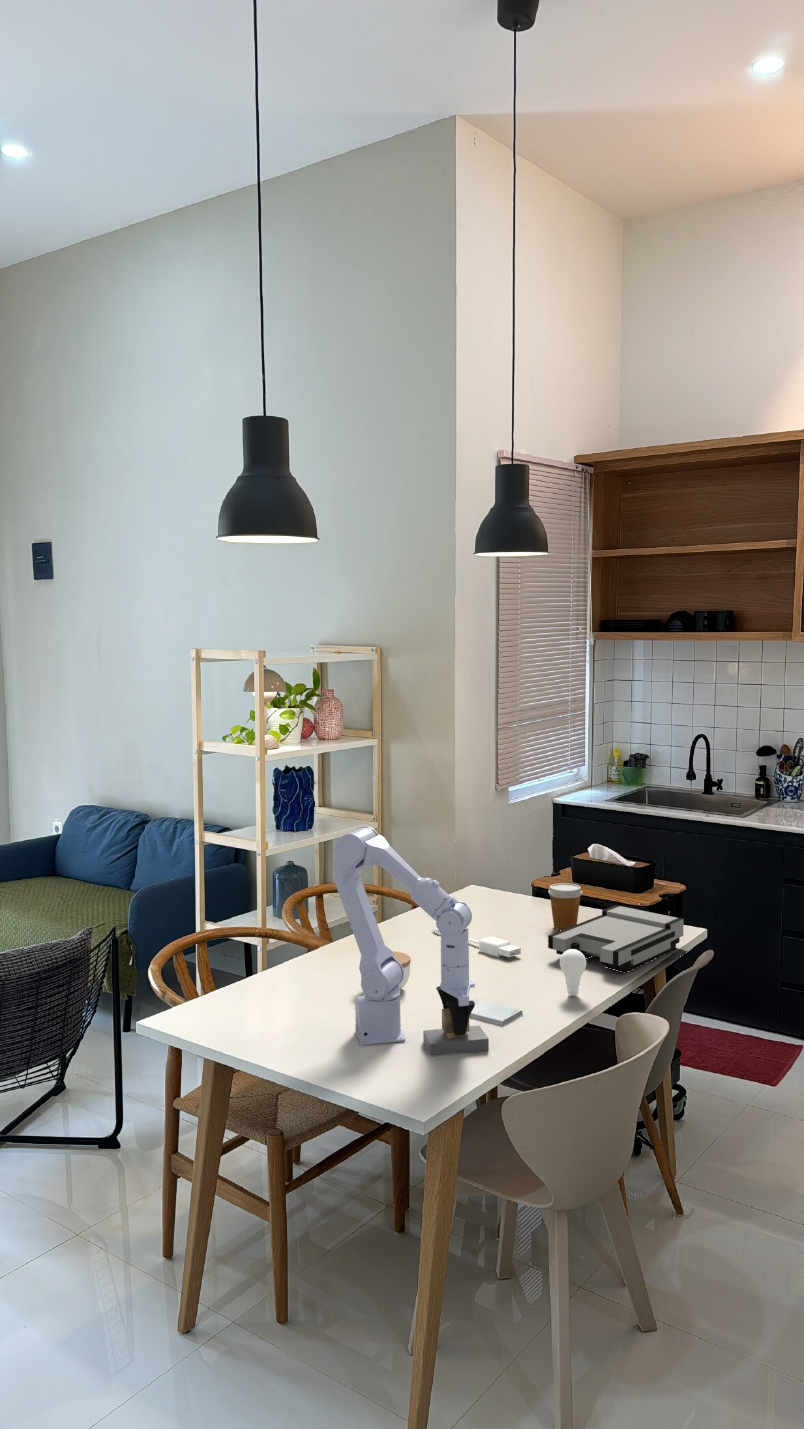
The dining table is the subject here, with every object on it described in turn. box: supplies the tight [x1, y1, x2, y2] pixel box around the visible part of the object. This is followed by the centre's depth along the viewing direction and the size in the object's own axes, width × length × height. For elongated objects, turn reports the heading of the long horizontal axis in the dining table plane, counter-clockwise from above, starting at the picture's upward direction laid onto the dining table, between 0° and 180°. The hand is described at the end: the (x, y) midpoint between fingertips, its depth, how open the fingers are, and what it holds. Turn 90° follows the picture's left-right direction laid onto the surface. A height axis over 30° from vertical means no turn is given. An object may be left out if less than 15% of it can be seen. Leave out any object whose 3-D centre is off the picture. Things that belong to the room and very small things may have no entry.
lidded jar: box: [392, 950, 411, 992], centre depth 240 cm, size 11×11×9 cm
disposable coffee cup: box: [548, 882, 583, 931], centre depth 287 cm, size 10×10×12 cm
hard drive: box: [469, 998, 523, 1027], centre depth 225 cm, size 2×8×12 cm
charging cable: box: [431, 927, 522, 958], centre depth 274 cm, size 5×32×3 cm, turn 39°
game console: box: [547, 905, 684, 974], centre depth 264 cm, size 21×32×8 cm, turn 136°
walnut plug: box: [441, 1008, 470, 1038], centre depth 207 cm, size 5×3×7 cm, turn 101°
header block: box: [422, 1025, 490, 1057], centre depth 207 cm, size 12×7×2 cm, turn 101°
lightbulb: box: [559, 949, 587, 997], centre depth 234 cm, size 6×6×11 cm
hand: (455, 1027), depth 207 cm, fingers open, 6 cm apart
